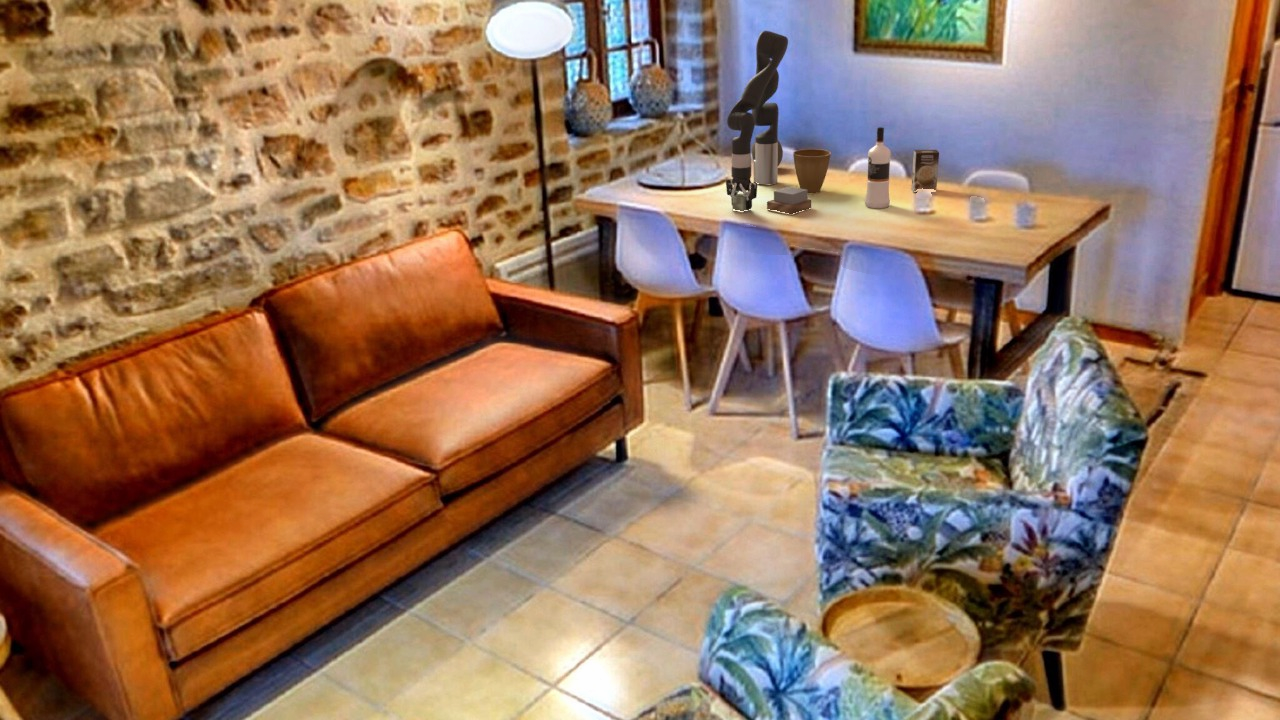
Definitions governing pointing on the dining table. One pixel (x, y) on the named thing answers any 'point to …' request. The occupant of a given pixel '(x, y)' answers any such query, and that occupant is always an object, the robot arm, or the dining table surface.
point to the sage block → (739, 202)
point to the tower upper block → (790, 195)
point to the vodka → (878, 174)
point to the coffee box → (925, 169)
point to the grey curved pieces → (780, 152)
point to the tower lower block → (789, 206)
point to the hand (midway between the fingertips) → (741, 207)
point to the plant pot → (811, 168)
